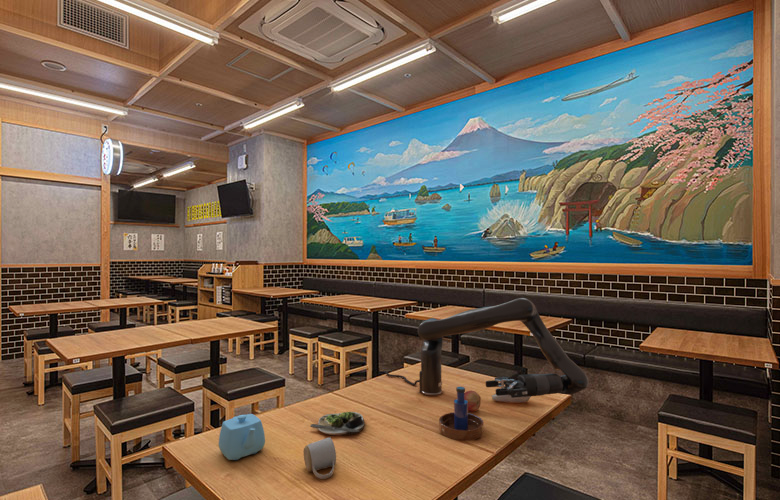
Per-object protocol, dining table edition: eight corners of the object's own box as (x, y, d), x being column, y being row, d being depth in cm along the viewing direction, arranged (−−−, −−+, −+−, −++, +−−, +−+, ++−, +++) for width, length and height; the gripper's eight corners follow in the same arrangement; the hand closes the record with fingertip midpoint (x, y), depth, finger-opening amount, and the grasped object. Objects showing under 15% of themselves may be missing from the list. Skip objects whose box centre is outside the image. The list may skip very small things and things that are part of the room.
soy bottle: (452, 431, 132) (451, 389, 133) (456, 426, 136) (456, 384, 137) (465, 434, 130) (465, 391, 130) (469, 428, 134) (469, 386, 135)
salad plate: (309, 441, 128) (309, 427, 128) (311, 419, 145) (311, 407, 145) (366, 436, 131) (366, 422, 131) (361, 415, 149) (361, 403, 149)
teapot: (233, 472, 109) (233, 432, 110) (214, 449, 123) (214, 413, 123) (274, 457, 118) (274, 420, 118) (252, 437, 131) (251, 403, 131)
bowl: (433, 436, 130) (432, 425, 130) (447, 419, 144) (447, 409, 144) (476, 446, 123) (476, 434, 123) (488, 428, 136) (488, 416, 136)
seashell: (515, 420, 160) (539, 394, 158) (499, 409, 155) (524, 383, 153) (504, 405, 167) (527, 380, 166) (488, 395, 162) (512, 369, 161)
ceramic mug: (302, 465, 113) (302, 439, 113) (328, 457, 117) (328, 432, 117) (312, 484, 104) (312, 456, 104) (341, 475, 108) (341, 448, 108)
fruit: (468, 417, 146) (468, 396, 146) (457, 409, 153) (456, 389, 153) (484, 413, 149) (484, 392, 149) (473, 406, 156) (472, 386, 156)
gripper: (522, 369, 145) (482, 371, 142) (543, 380, 131) (499, 384, 128) (523, 388, 145) (483, 391, 142) (544, 402, 131) (499, 406, 128)
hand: (490, 388), depth 135 cm, fingers open, 8 cm apart
